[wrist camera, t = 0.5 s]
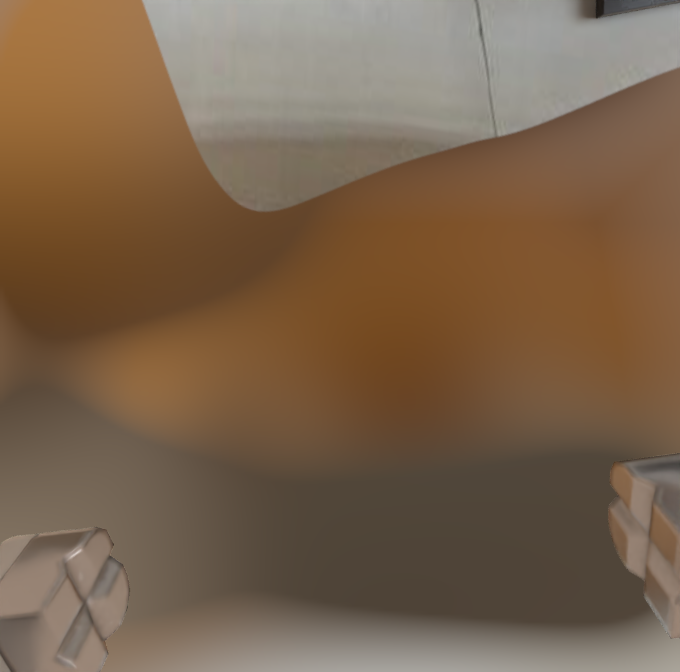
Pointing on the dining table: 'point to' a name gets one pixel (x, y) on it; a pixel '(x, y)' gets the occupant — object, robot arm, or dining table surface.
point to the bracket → (627, 6)
